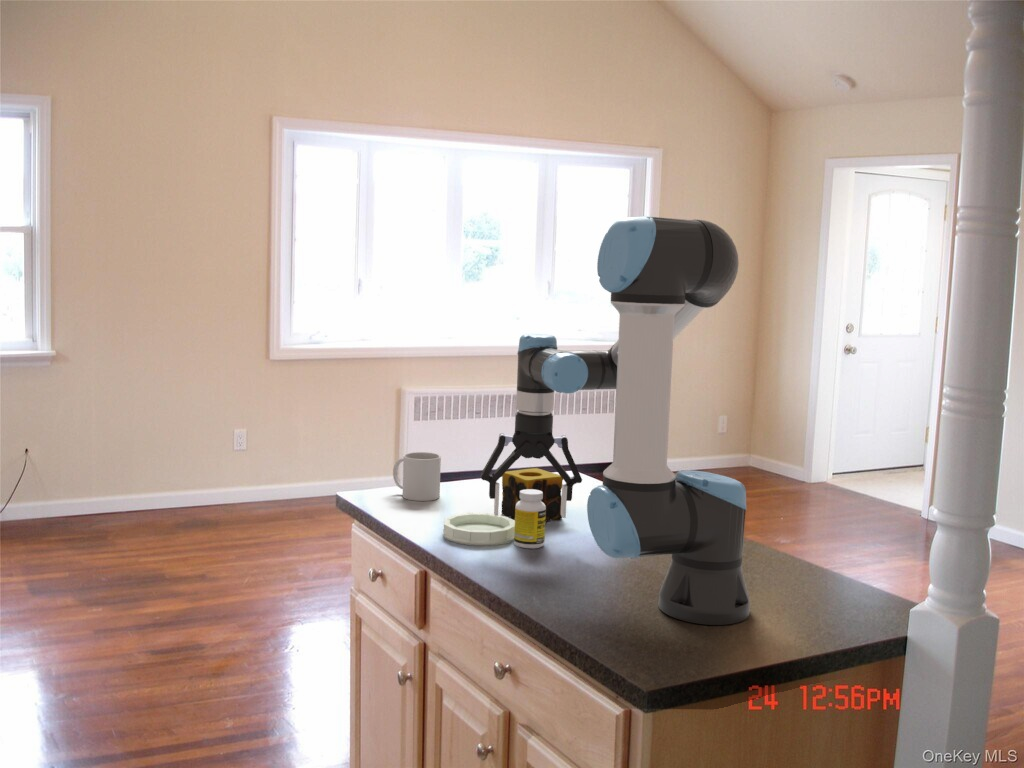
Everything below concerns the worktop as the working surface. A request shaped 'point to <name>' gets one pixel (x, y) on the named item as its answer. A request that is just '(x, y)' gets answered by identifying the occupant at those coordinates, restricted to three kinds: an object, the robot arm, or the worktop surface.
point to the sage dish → (479, 529)
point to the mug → (419, 476)
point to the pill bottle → (530, 519)
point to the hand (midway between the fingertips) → (529, 515)
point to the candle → (532, 480)
